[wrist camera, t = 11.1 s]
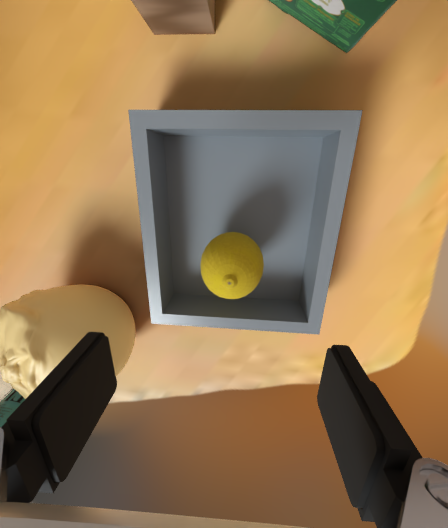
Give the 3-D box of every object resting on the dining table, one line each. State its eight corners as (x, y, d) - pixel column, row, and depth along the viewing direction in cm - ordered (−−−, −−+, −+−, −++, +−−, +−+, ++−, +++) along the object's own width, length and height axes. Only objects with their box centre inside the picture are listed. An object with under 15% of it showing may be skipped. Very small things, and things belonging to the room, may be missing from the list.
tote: (166, 298, 29) (151, 323, 24) (152, 122, 22) (128, 109, 18) (306, 306, 28) (319, 334, 23) (336, 123, 21) (362, 110, 17)
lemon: (269, 234, 24) (279, 262, 17) (249, 281, 26) (251, 325, 19) (216, 216, 24) (204, 236, 17) (201, 264, 26) (183, 302, 19)
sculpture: (48, 264, 29) (-58, 314, 19) (148, 282, 28) (94, 343, 18) (57, 341, 33) (-25, 417, 23) (144, 358, 33) (99, 441, 23)
